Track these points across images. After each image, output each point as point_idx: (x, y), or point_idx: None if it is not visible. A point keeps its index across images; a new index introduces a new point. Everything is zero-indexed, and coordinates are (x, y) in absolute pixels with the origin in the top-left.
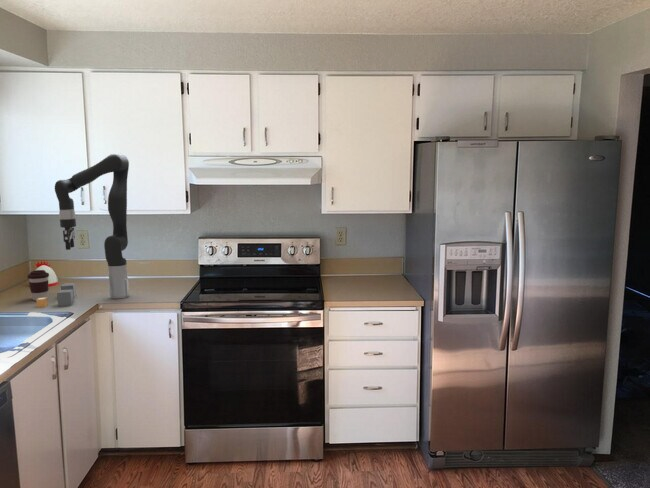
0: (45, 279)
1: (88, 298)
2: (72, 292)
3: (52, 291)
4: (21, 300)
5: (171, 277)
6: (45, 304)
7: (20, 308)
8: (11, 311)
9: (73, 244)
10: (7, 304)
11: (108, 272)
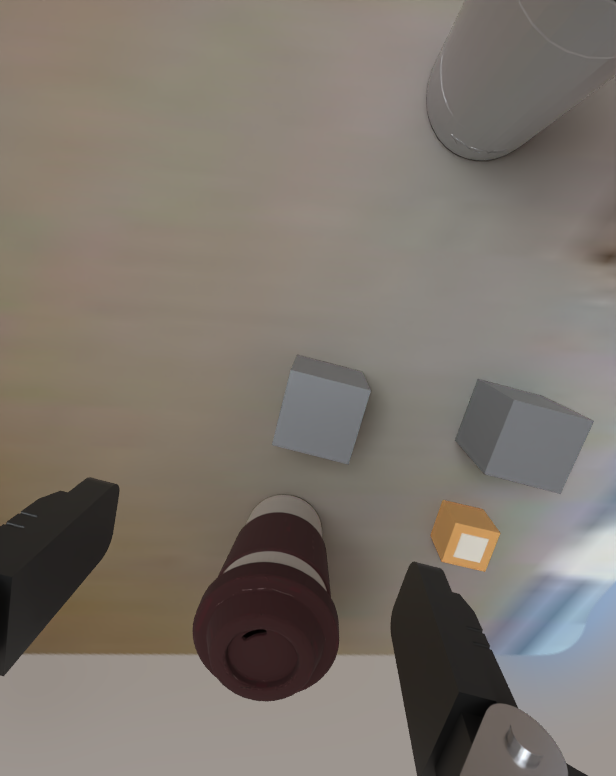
0: (310, 573)
1: (415, 295)
2: (527, 400)
3: (118, 466)
4: None
5: None
6: (487, 517)
7: None
8: None
9: (86, 515)
10: None
11: (596, 66)
